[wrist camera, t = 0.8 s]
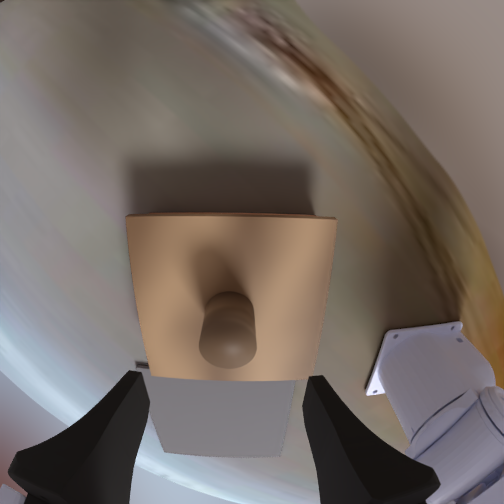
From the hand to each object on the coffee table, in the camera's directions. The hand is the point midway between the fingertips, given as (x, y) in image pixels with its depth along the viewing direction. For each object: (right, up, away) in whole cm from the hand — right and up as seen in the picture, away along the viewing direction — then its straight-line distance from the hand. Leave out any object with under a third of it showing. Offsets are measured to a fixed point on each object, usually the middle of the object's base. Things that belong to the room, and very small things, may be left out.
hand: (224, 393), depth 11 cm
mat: (-2, -11, +15) cm, 18 cm away
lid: (0, +3, +7) cm, 7 cm away
